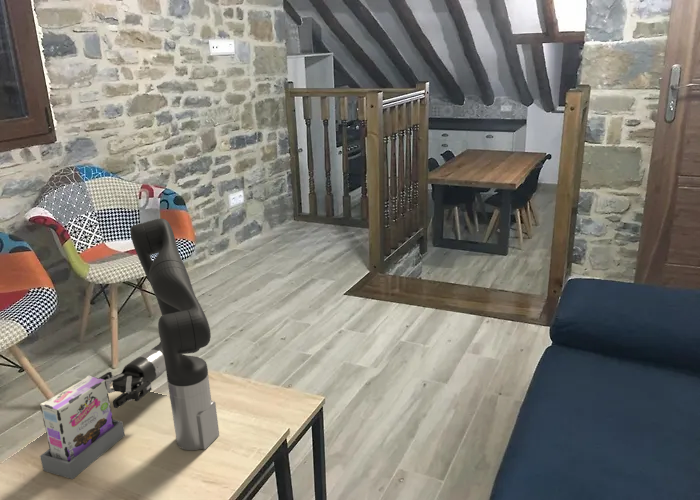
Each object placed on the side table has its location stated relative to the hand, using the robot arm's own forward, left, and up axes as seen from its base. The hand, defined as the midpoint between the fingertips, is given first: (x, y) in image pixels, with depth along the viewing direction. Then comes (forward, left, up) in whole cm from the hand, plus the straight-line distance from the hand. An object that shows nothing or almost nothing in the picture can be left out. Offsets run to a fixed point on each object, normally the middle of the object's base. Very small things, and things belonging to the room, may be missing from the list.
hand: (100, 401), depth 143 cm
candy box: (0, +7, -10) cm, 12 cm away
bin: (0, +7, -10) cm, 12 cm away
